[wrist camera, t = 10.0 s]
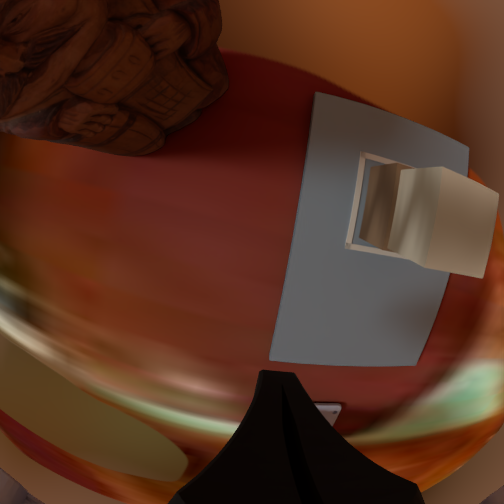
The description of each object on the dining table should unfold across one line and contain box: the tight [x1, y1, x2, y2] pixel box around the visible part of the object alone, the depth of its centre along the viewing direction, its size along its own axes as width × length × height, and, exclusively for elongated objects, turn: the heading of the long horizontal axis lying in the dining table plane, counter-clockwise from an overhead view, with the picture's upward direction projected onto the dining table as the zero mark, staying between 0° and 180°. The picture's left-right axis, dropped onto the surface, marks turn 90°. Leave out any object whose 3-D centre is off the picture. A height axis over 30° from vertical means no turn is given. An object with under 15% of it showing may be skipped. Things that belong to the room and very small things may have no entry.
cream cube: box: [387, 167, 499, 279], centre depth 12 cm, size 4×4×4 cm
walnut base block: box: [359, 163, 415, 253], centre depth 15 cm, size 5×5×4 cm
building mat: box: [269, 92, 469, 366], centre depth 18 cm, size 20×14×1 cm
